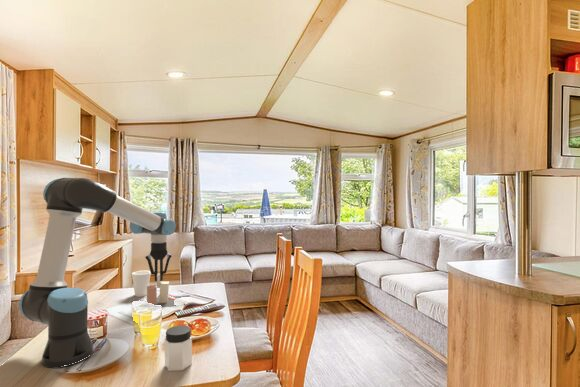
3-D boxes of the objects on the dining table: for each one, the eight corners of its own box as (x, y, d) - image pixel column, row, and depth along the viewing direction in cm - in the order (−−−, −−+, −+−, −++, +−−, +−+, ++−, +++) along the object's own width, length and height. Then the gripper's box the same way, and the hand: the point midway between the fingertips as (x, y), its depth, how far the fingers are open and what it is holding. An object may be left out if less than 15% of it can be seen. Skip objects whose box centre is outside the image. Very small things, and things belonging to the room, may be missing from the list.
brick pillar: (156, 307, 166) (156, 287, 166) (147, 308, 164) (147, 288, 164) (155, 304, 170) (155, 285, 170) (146, 306, 168) (146, 286, 168)
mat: (189, 306, 170) (189, 305, 170) (142, 310, 164) (142, 308, 164) (189, 296, 185) (189, 295, 185) (147, 299, 180) (147, 298, 179)
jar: (194, 358, 119) (194, 324, 119) (189, 370, 111) (189, 334, 111) (168, 359, 118) (168, 325, 118) (161, 371, 110) (161, 335, 110)
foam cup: (128, 296, 184) (128, 272, 184) (144, 292, 192) (144, 269, 191) (137, 299, 179) (137, 275, 178) (153, 295, 186) (153, 272, 186)
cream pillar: (167, 302, 173) (168, 283, 173) (158, 303, 172) (160, 283, 172) (167, 300, 177) (169, 281, 177) (159, 300, 176) (161, 281, 175)
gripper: (172, 240, 178) (172, 284, 179) (146, 241, 175) (146, 285, 175) (171, 242, 171) (171, 288, 172) (144, 243, 168) (144, 290, 168)
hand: (158, 287), depth 173 cm, fingers closed
